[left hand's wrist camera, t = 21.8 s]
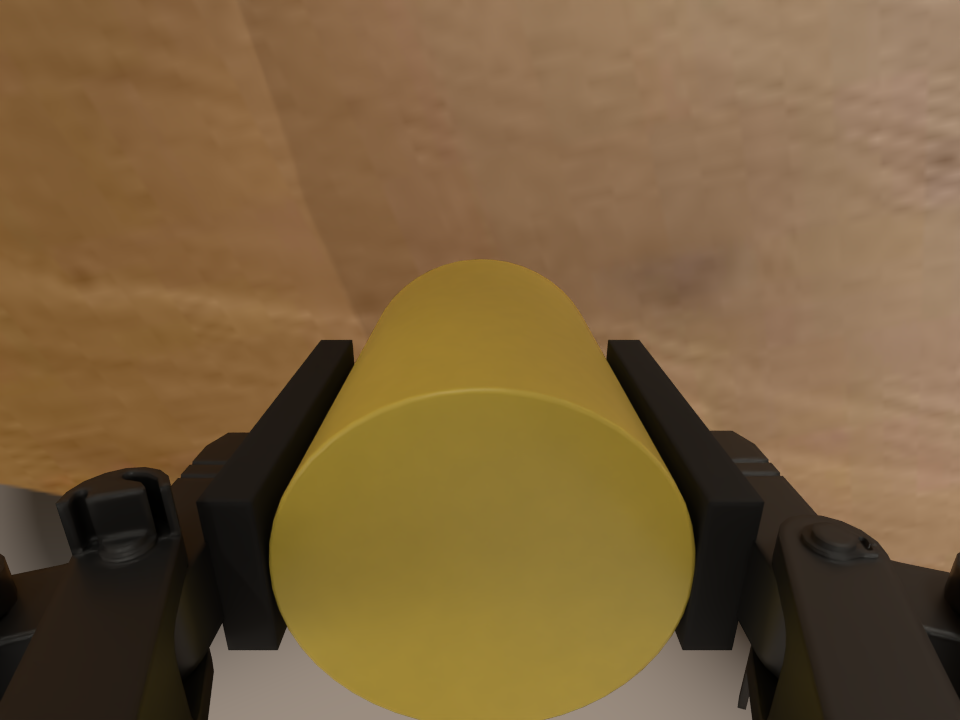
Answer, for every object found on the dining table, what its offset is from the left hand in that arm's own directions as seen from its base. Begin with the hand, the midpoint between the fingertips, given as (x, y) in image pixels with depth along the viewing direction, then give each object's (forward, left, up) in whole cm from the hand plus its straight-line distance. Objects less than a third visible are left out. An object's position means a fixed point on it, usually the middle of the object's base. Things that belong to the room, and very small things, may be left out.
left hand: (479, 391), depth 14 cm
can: (0, 0, -2) cm, 2 cm away
